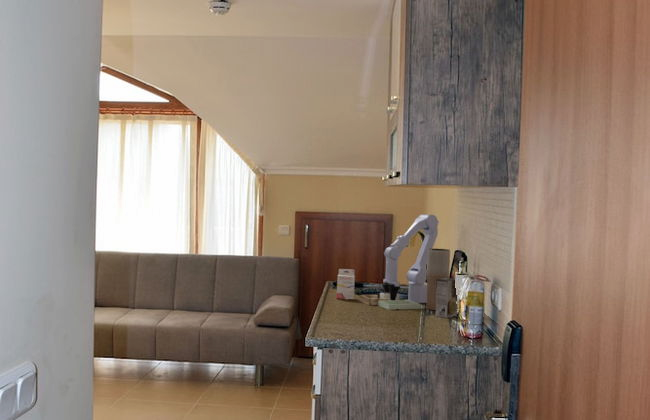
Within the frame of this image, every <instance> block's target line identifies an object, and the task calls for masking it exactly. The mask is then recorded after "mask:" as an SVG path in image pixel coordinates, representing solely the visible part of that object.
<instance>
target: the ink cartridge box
mask: <svg viewBox="0 0 650 420" xmlns="http://www.w3.org/2000/svg"><path fill="white" fill-rule="evenodd" d="M355 277H356V276H355V269H350V268H339V269H338V274H337V281H336V299H337V300H348V299H353V300H354V298H355V279H356V278H355Z"/></svg>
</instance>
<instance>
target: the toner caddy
mask: <svg viewBox="0 0 650 420" xmlns="http://www.w3.org/2000/svg"><path fill="white" fill-rule="evenodd" d="M379 298H387V299H388V301H393V300H391V299H390V292H385V291H383V292H379ZM395 300H400V294H399V293H397V296H396V299H395Z"/></svg>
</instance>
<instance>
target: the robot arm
mask: <svg viewBox="0 0 650 420" xmlns="http://www.w3.org/2000/svg"><path fill="white" fill-rule="evenodd" d="M439 223H440V222H439V219H438V217H437V216H436V215H435V214H423V213H421V214H420V215H418V216H417V217H416V218H415V219H414V222H413V223H412V224H411V226H410V227H409V228H408V229H407V231H405V233H404V234H403V235H398V236H397V237H396V240H394V242H393V243H391V244H390V246H388V247H386V248H385V250H384V251H383V255H384V257H385V276H384V277H385V278H383V281H382V282H383V283H382V284H381V286H382V288H383V290H384V291H383V292H390V299H391V300H395V299H396V296H397V294H399V293H398V292H399V290H400V289H401V286H400V282H399V280H398V266H399V265H398V264H399V263H398V262H399V258H400V257H401V253H402V252H403V250H405V249H406V247H407V246H408V245H409V243H410V239H411V238H413V236H415V235H416V233H418V231H420V230H422V231H424V234H425V235H424V238H423V240H422V244H421V246H420V249H419V252H418V255H417V257H416V259H415V260H416V261H415V262H414V264H412V265H411V267H410V269H409V270H408V271H407V273H406V276H405V277H406V279H407V281H408V293H407V294H408V296H407V298H408V299H407V300H410V301H413V302H416V303H419V304H421V303H422V304H424V303H425V304H426V301H427V283H425V282H427V273H428V268H427V267H426V266H428V249H434V245H435V243H436V239H437V237H438V231H439V230H438V226H439Z"/></svg>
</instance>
